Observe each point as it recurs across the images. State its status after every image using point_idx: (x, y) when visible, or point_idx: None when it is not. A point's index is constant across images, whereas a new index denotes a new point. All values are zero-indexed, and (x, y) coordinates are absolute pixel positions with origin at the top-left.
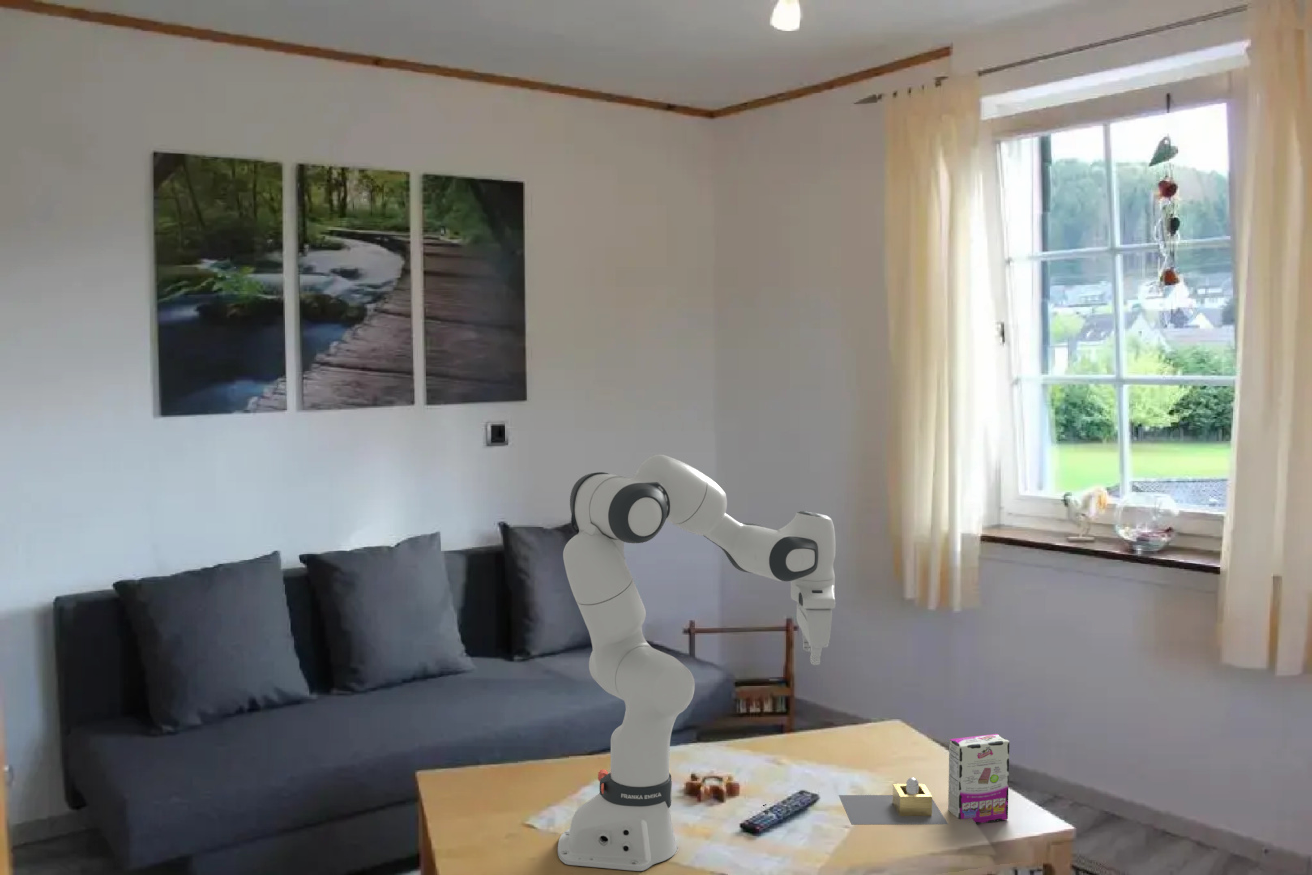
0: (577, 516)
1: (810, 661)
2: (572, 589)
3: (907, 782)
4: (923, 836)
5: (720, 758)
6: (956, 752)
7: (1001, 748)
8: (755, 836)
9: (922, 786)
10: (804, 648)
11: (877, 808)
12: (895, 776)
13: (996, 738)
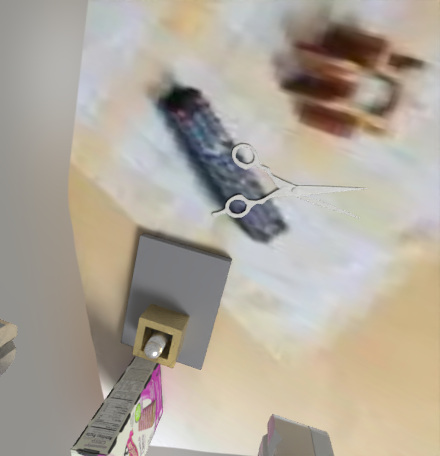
0: None
1: (7, 323)
2: None
3: (151, 343)
4: (118, 305)
5: None
6: (91, 436)
7: None
8: (155, 100)
9: (165, 361)
10: (275, 428)
11: (177, 289)
12: (291, 370)
13: None
